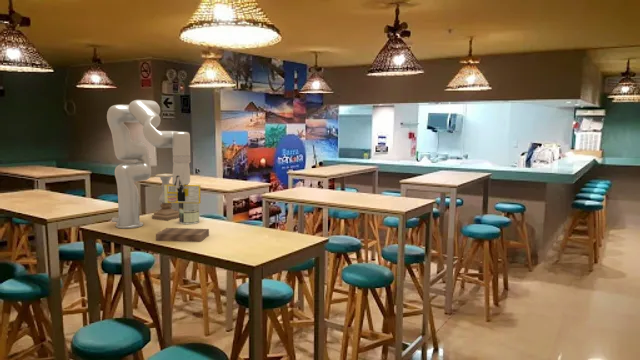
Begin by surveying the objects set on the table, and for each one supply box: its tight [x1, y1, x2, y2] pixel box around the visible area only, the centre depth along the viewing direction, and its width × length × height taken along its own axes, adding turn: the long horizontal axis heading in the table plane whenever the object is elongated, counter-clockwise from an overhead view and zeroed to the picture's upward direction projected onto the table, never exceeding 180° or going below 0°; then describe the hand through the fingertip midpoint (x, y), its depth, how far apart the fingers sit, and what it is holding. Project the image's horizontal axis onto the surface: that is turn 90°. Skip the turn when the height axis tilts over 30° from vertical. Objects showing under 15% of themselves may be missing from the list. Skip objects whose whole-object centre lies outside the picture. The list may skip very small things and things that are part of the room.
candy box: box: [164, 184, 202, 205], centre depth 206 cm, size 16×2×8 cm, turn 86°
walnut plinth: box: [155, 227, 210, 243], centre depth 207 cm, size 20×12×3 cm, turn 86°
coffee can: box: [178, 203, 200, 225], centre depth 240 cm, size 10×10×14 cm
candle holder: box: [151, 173, 179, 222], centre depth 250 cm, size 11×11×24 cm
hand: (182, 200), depth 206 cm, fingers closed on candy box, 2 cm apart
